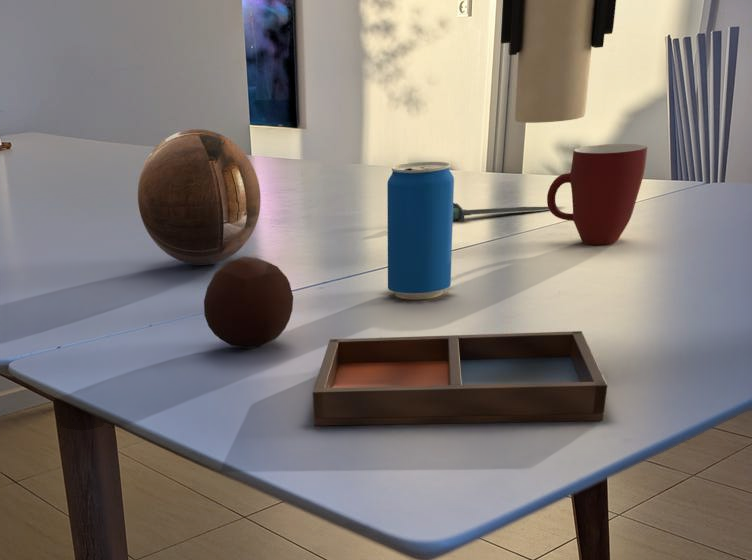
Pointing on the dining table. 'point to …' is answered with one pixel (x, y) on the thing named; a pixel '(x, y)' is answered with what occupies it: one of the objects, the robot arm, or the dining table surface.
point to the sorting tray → (459, 380)
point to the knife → (490, 211)
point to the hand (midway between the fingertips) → (554, 47)
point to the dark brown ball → (248, 302)
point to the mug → (602, 190)
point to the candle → (554, 60)
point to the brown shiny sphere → (199, 197)
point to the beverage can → (420, 229)
